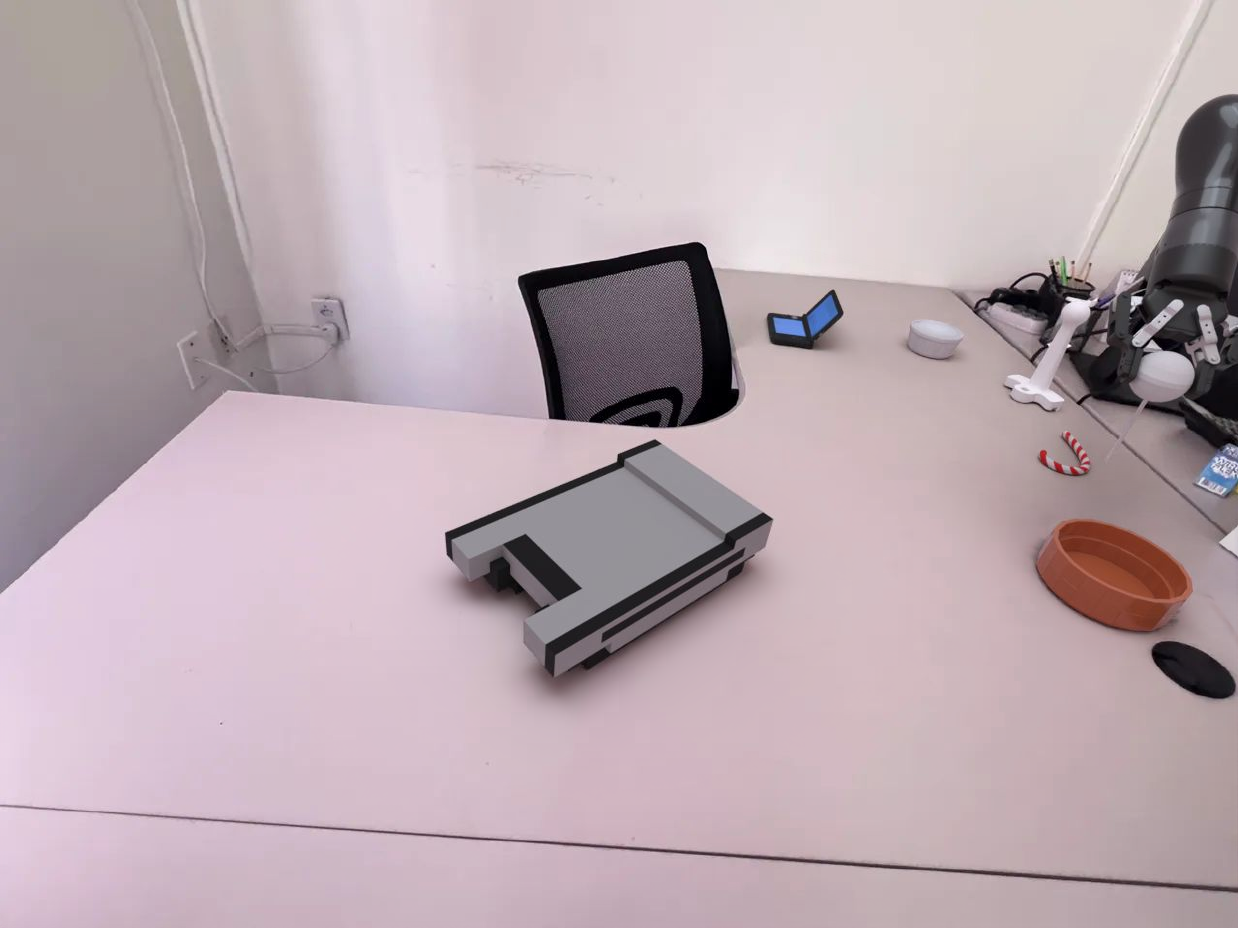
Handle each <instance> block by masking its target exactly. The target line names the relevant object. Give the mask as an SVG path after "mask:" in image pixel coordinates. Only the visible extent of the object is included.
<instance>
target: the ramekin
mask: <svg viewBox="0 0 1238 928" xmlns="http://www.w3.org/2000/svg"><path fill="white" fill-rule="evenodd" d="M964 338H965V335H964V332H962V330H960V328H958V327H956V326H954V325H951V324H950V323H946V322H943V321H938V320H934V319H915V320H912V321H911V322H910V324H909V331H908V338H907V346H908V348H909V350H911V351H912V352H913V353H916V354H918V355H920V356H922V357H924V358H925V357H926V358H930V359H936V360H937V359H938V360H942V359H943V360H944V359H947V358H949V357H951V356H952V355H954V353H955V351H956V350H957V348H958V346H959V345H960V343H961V342H962V341H963V340H964Z"/></svg>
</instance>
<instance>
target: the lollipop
mask: <svg viewBox="0 0 1238 928" xmlns="http://www.w3.org/2000/svg"><path fill="white" fill-rule="evenodd" d="M1194 368H1195V367H1194V365H1193V364H1192V362H1191V361H1190V360H1189V359H1188V358H1187V357H1186V356H1184V355H1183V354H1181V353H1178V352H1175V351H1170V350H1158V351H1153V352H1150V353H1147V354H1145V355H1144V356H1142V359H1141V362H1140V366H1139V370H1138V373H1137V376H1136V378H1135V380H1133V381H1132V382H1130V383H1129V384H1128V385H1129V388H1130V389H1131V391H1132V392H1133V393H1134V395H1136V396H1137V397H1139V399H1142V401H1141V402H1140V404H1139V406H1138V407H1137V409H1136V410H1135V412H1134V414H1133V415H1132V417H1131V418H1130V420H1129V421H1128V423H1127V425H1126V426H1125V428H1124V429H1123V431H1122V433H1121V434H1120V435H1119V437H1118V439H1117V441H1116V442H1115V443H1114V445H1113V446H1112V448H1111V450H1110V451H1109V453H1108V454H1107V456H1106V458H1105V459H1104V462H1105V463H1106V464H1107V463H1110V461H1111V459H1112V458H1113V457H1114V455H1115V453H1116V451H1117V450H1118V449H1119V447H1120V446H1121V444H1122V442H1123V441H1124V439H1125V437H1126V436H1127V435H1128V433H1129V431H1130V430H1131V429H1132V426H1134V423H1136V421H1137V419H1138V418H1139V416H1140V414H1141V413H1142V411H1143V410H1144V408H1145V406H1146V405H1147V403H1148V402H1152V403H1165V402H1167V403H1168V402H1170V401H1174V400H1176V399H1179V398H1181V397H1182V396H1184V395H1185V393H1186V392H1187V391H1188V389H1189V388H1190V387H1191V385H1192V383H1193V381H1194V376H1195V375H1194Z"/></svg>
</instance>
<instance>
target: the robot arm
mask: <svg viewBox="0 0 1238 928" xmlns="http://www.w3.org/2000/svg"><path fill="white" fill-rule="evenodd" d="M1180 129H1181V130H1180V132H1179V134H1178V137H1177V141H1176V145H1175V154H1174V155H1175V156H1174V183H1175V184H1174V185H1175V196H1174V199H1173V203H1172V206H1171V208H1170V212H1169V216H1168V220H1167V223H1166V226H1165V229H1164V231H1163V233H1162V236H1161V238H1160V240H1159V243H1158V245H1157V247H1156V250H1155V252H1154V260H1153V263H1152V267H1151V271H1150V274H1149V277H1148V283H1147V285H1146V289H1145V294H1144V295H1143V296H1138V295H1137V296H1136V295H1132V292H1130V291H1128V290H1123V291H1121V292H1120V293H1119V294H1118V295H1117V296H1116V297H1115V298H1114V299H1112V301H1110V303H1109V310H1108V319H1107V330H1106V337H1105V339H1106V341H1105V343H1106V345H1108V346H1110V347H1114V346H1115V347H1116V348H1118V349H1119V350H1120V351H1121V356H1120V360H1119V363H1118V366H1117V367H1118V368H1117V371H1116V375H1117V378H1120V380H1119V382H1120V383H1121V384H1124V385H1125V384H1126V385H1129V383H1130V382H1132V381H1133V380H1135V378H1136V376H1137V373H1138V370H1139V366H1140V362H1141V359H1142V357H1143V354H1144V351H1145V349H1143V348H1142V347H1143V346H1144V345H1145V344H1146V343H1147V342H1148V341H1149V340H1150V339H1151V338H1152V337H1153V336H1154V337H1155V338H1159V339H1170V340H1173V341H1174V342H1177V343H1182V344H1184V347H1185V350H1186V353H1187V354H1188V355H1190V356H1191V360H1192V363H1193V368H1194V375H1195V376H1194V381H1193V383H1192V385H1191V387H1190V388H1189V389H1188V391H1187V392H1185V393H1184V398H1185V399H1188V400H1192V401H1194V400H1196V399H1198V398H1200V397H1201V396H1203V395H1204V394H1207V393H1208V392H1209V391H1210V390H1211V389H1212V384H1213V380H1214V376H1215V371H1219V372H1223V371H1225V370H1227V369H1228V368H1230V367H1232V366H1235V365H1236V364H1238V316H1234V315H1231V314H1229V310H1228V308H1227V300H1228V298H1229V296H1230V293H1231V288H1232V285H1233V281H1234V277H1235V272H1236V269H1237V266H1238V93H1228V94H1222V95H1219V96H1216V97H1214V98H1211V99H1210V100H1207V101H1206V102H1205V103H1203V104H1202V105H1200V106H1199V107H1197V108H1196V109H1195V110H1194V111H1193V113H1191V115H1190V116H1189V117H1188V118H1187V119H1186V121H1185V122H1184V123H1183V125H1182V127H1181V128H1180ZM1136 309H1137V310H1138V312H1139V314H1140V315H1141V317H1142V319H1143V321H1144V323H1145V324H1144V325H1143V326H1142V327H1141V328H1140V329H1139V330H1138V331H1137V332H1136V333H1135V334H1134V335H1131V334H1130V333H1129V328H1130V318H1131V314H1132V313H1133V312H1134V311H1135V310H1136ZM1220 325H1221V327H1222V328H1223V334H1222V336H1223V337H1224V338H1225V340H1224V342H1223V344H1222V347H1221V348H1220V351H1219V349H1218V345H1217V344H1218V341H1219V339H1218V336H1217V331H1216V329H1215V328H1217V327H1218V326H1220Z"/></svg>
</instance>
